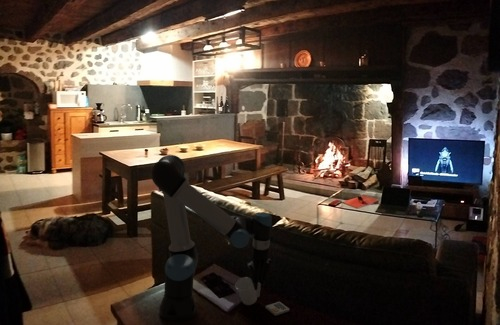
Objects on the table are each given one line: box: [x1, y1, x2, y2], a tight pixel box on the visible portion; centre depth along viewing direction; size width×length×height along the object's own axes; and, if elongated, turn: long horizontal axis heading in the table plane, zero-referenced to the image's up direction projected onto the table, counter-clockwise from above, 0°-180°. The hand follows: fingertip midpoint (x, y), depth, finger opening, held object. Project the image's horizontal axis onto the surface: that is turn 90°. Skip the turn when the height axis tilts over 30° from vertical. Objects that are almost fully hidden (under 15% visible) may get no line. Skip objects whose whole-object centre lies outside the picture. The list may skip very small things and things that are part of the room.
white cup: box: [234, 276, 258, 306], centre depth 179 cm, size 8×8×10 cm
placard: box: [265, 301, 291, 316], centre depth 178 cm, size 7×8×1 cm
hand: (256, 295), depth 183 cm, fingers closed
